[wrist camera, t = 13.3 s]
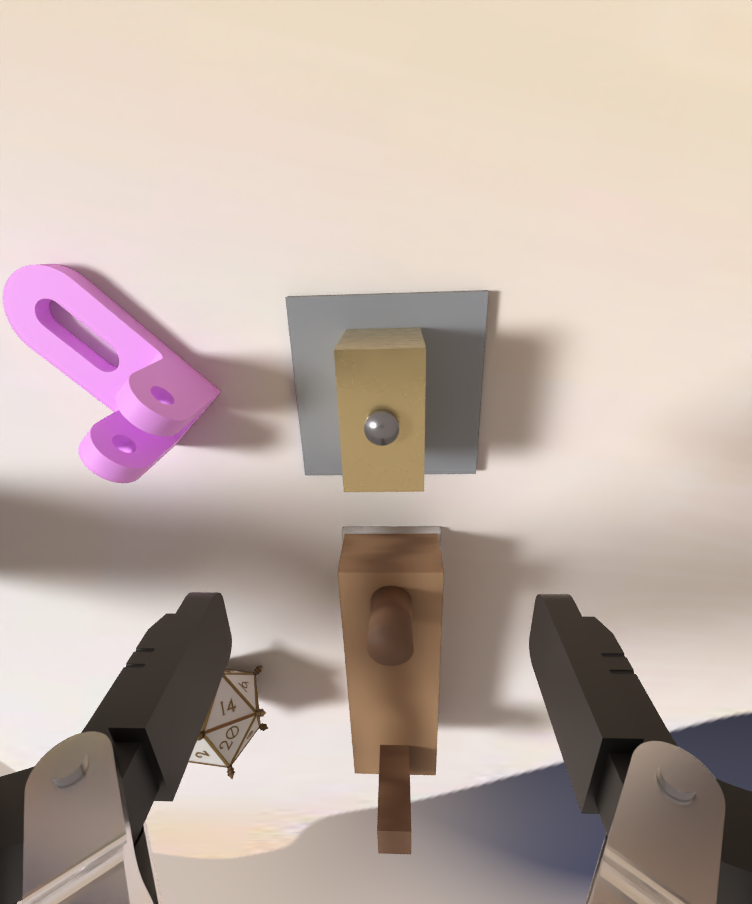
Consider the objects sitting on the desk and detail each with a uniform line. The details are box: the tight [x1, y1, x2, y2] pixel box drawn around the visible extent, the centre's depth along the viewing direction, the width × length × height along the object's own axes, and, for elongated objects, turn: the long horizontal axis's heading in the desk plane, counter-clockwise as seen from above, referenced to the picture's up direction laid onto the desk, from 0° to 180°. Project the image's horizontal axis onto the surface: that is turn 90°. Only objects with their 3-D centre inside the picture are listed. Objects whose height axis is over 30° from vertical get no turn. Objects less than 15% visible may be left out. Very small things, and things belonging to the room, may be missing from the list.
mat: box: [285, 290, 488, 475], centre depth 29 cm, size 12×12×1 cm
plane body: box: [338, 527, 444, 854], centre depth 34 cm, size 7×22×11 cm, turn 2°
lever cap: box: [334, 327, 426, 492], centre depth 26 cm, size 4×8×7 cm, turn 2°
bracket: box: [3, 264, 221, 483], centre depth 26 cm, size 13×6×7 cm, turn 46°
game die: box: [189, 666, 268, 779], centre depth 38 cm, size 9×8×10 cm
